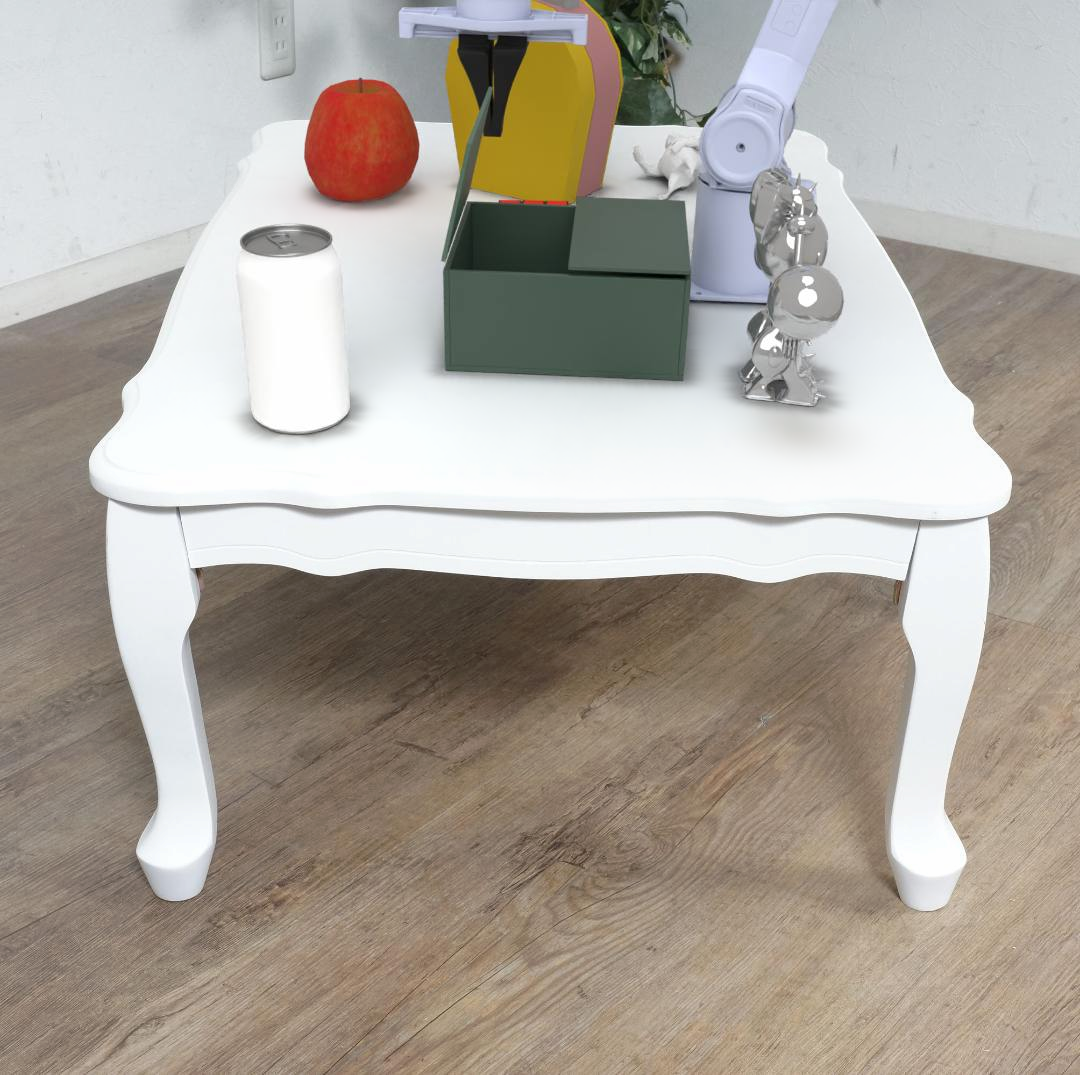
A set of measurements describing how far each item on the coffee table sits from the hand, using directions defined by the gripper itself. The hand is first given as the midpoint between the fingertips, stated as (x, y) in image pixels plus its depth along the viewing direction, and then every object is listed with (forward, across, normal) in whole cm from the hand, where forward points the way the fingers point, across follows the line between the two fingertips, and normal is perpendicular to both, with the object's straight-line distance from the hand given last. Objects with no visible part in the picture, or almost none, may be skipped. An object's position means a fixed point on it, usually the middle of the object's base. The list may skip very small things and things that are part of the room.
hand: (493, 133), depth 107 cm
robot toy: (+11, -22, +24) cm, 34 cm away
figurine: (+11, -15, -23) cm, 29 cm away
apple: (+11, +14, -16) cm, 24 cm away
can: (+11, +10, +30) cm, 33 cm away
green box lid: (-2, 0, +15) cm, 15 cm away
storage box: (+10, -7, +15) cm, 20 cm away
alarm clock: (+11, -2, -20) cm, 23 cm away
